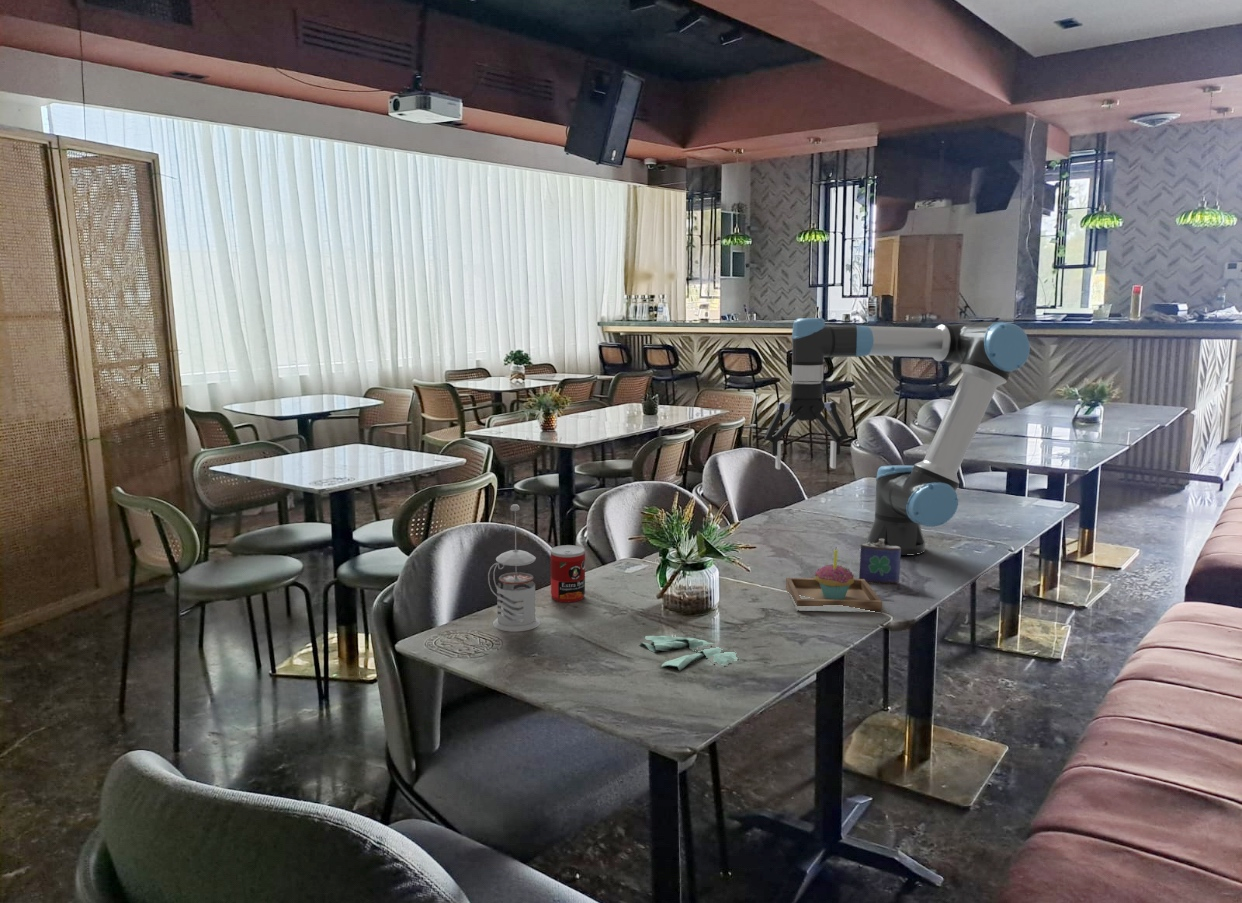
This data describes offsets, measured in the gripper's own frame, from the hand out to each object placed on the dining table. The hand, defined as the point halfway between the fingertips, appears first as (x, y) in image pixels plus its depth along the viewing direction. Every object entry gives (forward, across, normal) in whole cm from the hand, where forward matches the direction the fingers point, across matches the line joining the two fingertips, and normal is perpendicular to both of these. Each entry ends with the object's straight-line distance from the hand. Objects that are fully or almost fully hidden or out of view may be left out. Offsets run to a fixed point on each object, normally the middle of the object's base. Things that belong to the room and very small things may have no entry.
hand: (805, 468), depth 215 cm
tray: (+25, -1, +25) cm, 36 cm away
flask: (+26, -16, +12) cm, 32 cm away
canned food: (+24, +58, +23) cm, 67 cm away
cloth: (+26, +36, +55) cm, 71 cm away
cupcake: (+25, -1, +25) cm, 35 cm away
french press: (+24, +69, +39) cm, 82 cm away
